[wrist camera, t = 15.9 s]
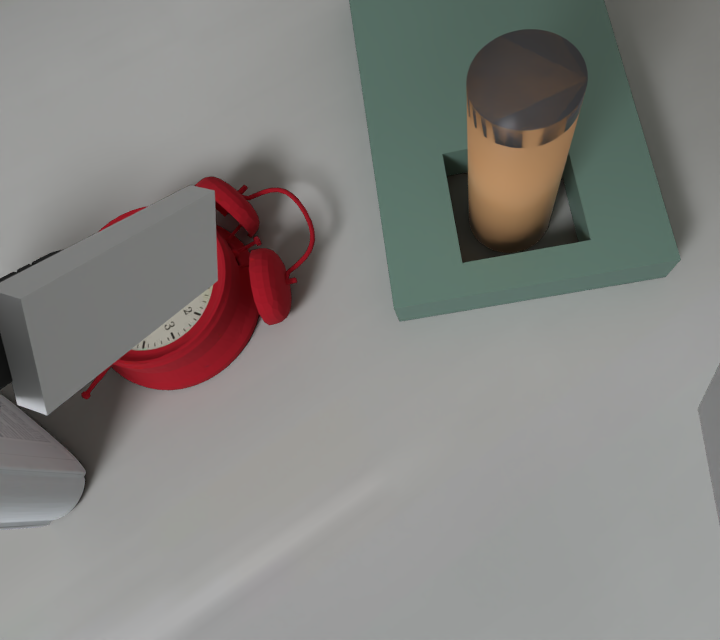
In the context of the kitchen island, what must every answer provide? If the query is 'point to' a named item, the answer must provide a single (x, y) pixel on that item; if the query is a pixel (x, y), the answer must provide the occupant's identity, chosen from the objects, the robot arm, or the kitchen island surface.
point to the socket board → (450, 156)
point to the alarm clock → (216, 304)
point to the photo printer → (34, 472)
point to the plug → (520, 133)
